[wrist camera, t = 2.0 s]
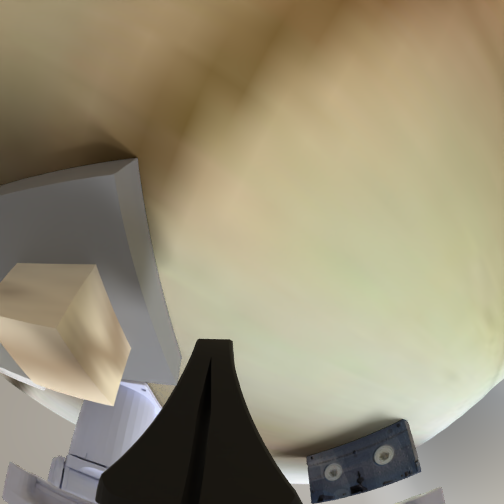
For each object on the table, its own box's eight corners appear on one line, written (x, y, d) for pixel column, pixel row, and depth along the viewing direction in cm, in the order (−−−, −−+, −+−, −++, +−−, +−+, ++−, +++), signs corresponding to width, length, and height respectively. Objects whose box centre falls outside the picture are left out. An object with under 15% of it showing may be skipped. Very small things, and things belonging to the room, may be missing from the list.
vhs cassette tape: (312, 457, 38) (317, 503, 29) (304, 455, 37) (309, 504, 28) (408, 420, 31) (422, 471, 23) (404, 417, 30) (419, 472, 22)
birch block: (131, 348, 14) (113, 406, 11) (56, 336, 14) (34, 383, 11) (96, 264, 11) (55, 328, 8) (17, 262, 11) (-21, 310, 7)
